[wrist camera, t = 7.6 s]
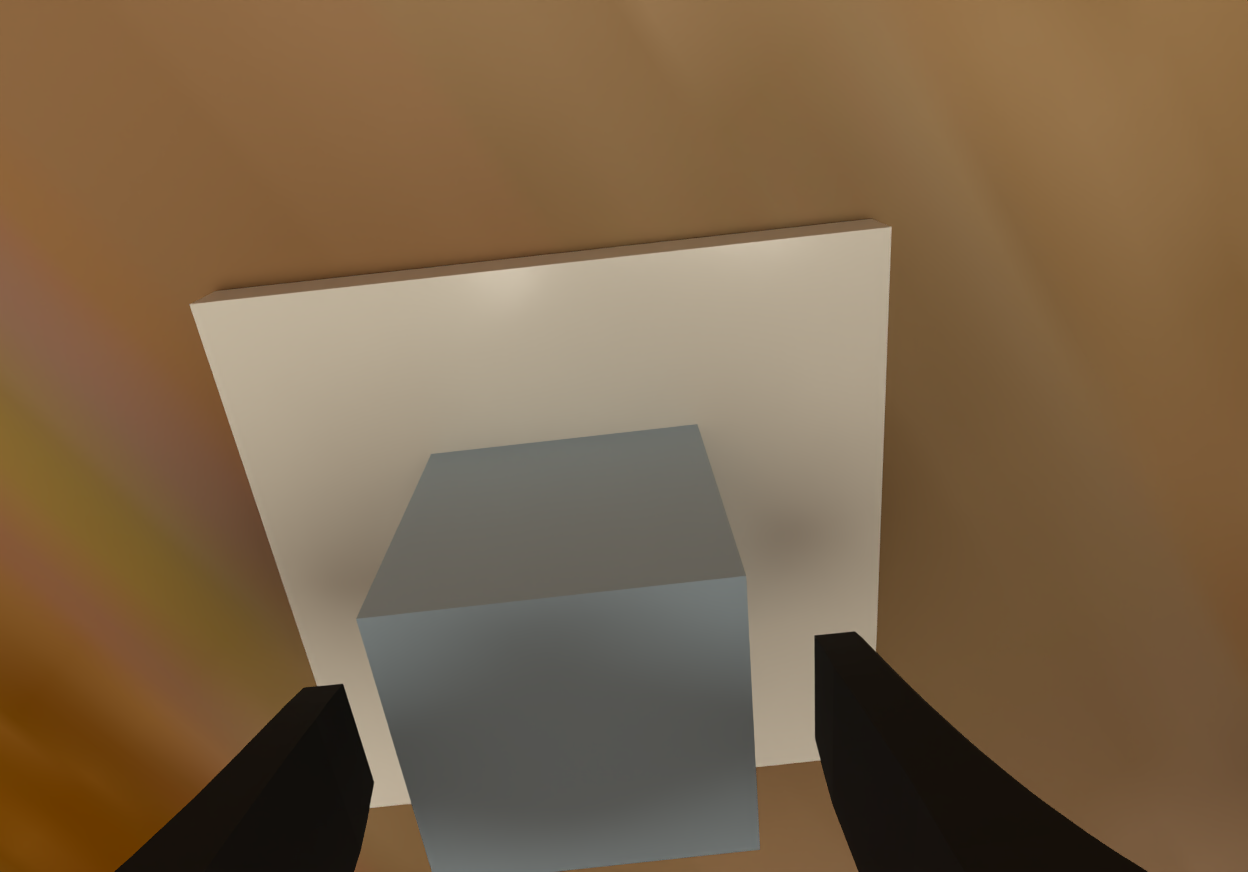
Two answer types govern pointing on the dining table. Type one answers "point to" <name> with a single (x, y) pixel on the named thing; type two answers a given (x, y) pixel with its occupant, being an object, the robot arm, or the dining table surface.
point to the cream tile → (576, 422)
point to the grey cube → (568, 656)
